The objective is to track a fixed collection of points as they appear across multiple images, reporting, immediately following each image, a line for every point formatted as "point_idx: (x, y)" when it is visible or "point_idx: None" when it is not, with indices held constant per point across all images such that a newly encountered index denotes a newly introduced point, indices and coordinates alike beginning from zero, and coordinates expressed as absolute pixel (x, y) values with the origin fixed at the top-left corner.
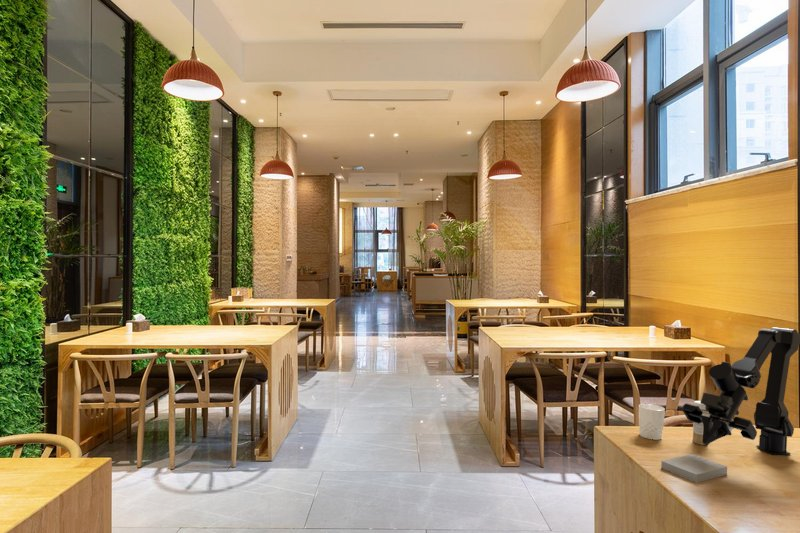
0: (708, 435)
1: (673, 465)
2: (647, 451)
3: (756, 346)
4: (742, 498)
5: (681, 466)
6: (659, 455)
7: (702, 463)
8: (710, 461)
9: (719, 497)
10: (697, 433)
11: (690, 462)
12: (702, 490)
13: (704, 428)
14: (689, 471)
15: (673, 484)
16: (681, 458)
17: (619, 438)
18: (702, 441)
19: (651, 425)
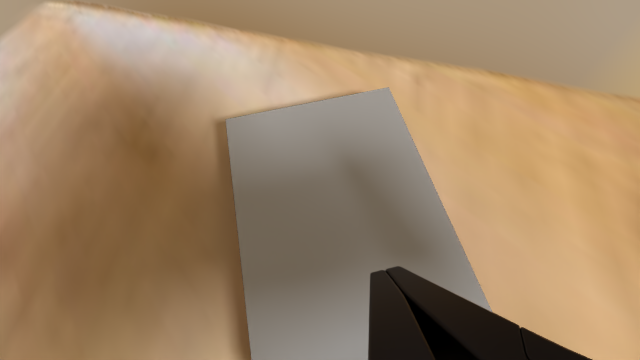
0: (397, 320)
1: (332, 98)
2: (603, 186)
3: None
4: (63, 200)
5: (317, 122)
6: (550, 208)
7: (334, 262)
8: (359, 357)
9: (116, 125)
10: None
11: (357, 202)
12: (178, 112)
13: (554, 356)
14: (260, 114)
15: (248, 61)
16: (416, 197)
17: None
18: (399, 266)
19: None
